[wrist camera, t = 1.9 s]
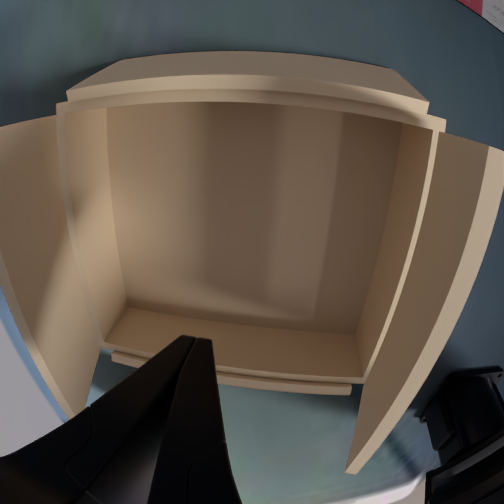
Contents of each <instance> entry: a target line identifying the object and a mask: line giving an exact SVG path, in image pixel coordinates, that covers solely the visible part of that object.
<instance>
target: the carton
mask: <svg viewBox="0 0 504 504" xmlns="http://www.w3.org/2000/svg"><path fill="white" fill-rule="evenodd" d="M66 94H67V98H68V101H66V102H61V103H56V117H57V139H58V153H59V165H60V174H61V183H62V191H63V198H64V205H65V211H66V218H67V223H68V229H69V234H70V239H71V244H72V249H73V254H74V259H75V263H76V267H77V271H78V276H79V280H80V284H81V287H82V291H83V295H84V298H85V302H86V306H87V309H88V312H89V316H90V319H91V322H92V325H93V329H94V332H95V335H96V338H97V341H98V344H99V347H103V348H106V349H110V350H114V352H112V353H111V357H112V361H113V362H117V363H120V364H124V365H128V366H132V367H136V368H139V367H140V366H142V365H143V364H144V363H146V362H147V361H148V360H149V359H151V358H152V357H153V356H155V355H156V354H157V353H158V352H160V351H161V350H162V349H164V348H165V347H166V346H167V345H169V344H170V343H171V342H172V341H174V340H175V339H176V338H178V337H179V336H180V335H190V336H195V337H196V338H198V337H202V338H209V339H211V340H212V342H213V351H214V359H215V367H216V375H217V383H218V384H223V385H230V386H237V387H245V388H253V389H262V390H271V391H282V392H294V393H308V394H326V395H350V393H351V390H352V386H351V383H355V384H365V382H366V379H367V377H368V375H369V373H370V371H371V368H372V366H373V364H374V362H375V359H376V357H377V355H378V352H379V350H380V347H381V345H382V343H383V340H384V338H385V335H386V333H387V330H388V327H389V325H390V322H391V319H392V317H393V314H394V311H395V309H396V306H397V303H398V300H399V297H400V294H401V291H402V288H403V285H404V282H405V279H406V276H407V273H408V270H409V266H410V263H411V260H412V256H413V253H414V249H415V246H416V242H417V238H418V235H419V231H420V227H421V223H422V219H423V215H424V211H425V206H426V202H427V197H428V193H429V188H430V183H431V178H432V172H433V167H434V161H435V155H436V149H437V142H438V135H439V132H443V133H445V127H446V120H445V119H442V118H438V117H435V116H431V115H428V114H427V110H428V106H429V101H428V100H426V99H425V98H424V97H423V96H422V95H421V94H420V93H419V92H418V91H417V90H416V89H415V88H414V87H413V86H412V85H411V84H409V83H408V82H407V81H406V80H405V79H404V78H403V77H402V76H400V75H399V74H398V73H397V72H396V71H395V70H393V69H389V68H384V67H380V66H375V65H370V64H365V63H360V62H354V61H348V60H342V59H336V58H329V57H321V56H313V55H304V54H293V53H279V52H260V51H206V52H187V53H174V54H163V55H154V56H146V57H138V58H131V59H125V60H120V61H118V62H116V63H114V64H112V65H110V66H108V67H106V68H104V69H103V70H101V71H99V72H97V73H95V74H94V75H92V76H90V77H88V78H87V79H85V80H83V81H81V82H80V83H78V84H76V85H75V86H73V87H72V88H70V89H68V90H67V91H66Z"/></svg>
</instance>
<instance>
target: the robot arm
mask: <svg viewBox="0 0 504 504" xmlns="http://www.w3.org/2000/svg"><path fill="white" fill-rule="evenodd" d="M503 375H504V371H503V369H502V368H499V369H491V370H482V371H471V372H459V373H452V374H450V375H449V376H448V377H447V379H446V380H445V382H444V383H443V385H442V386H441V388H440V389H439V391H438V392H437V394H436V395H435V397H434V398H433V400H432V401H431V402H430V404H429V405H428V407H427V408H426V409H425V411H424V412H423V413H422V415H421V416H420V418H419V419H420V423H427V426H428V430H429V434H430V438H431V442H432V446H433V449H434V451H438V454H439V459H440V463H441V467H439V468H437V469H435V470H431V471H429V472H427V473H426V482H425V504H504V401H503V399H502V397H501V395H500V393H499V390H498V388H497V386H496V385H497V383H498V382H499V381H500V379H501V378H502V376H503ZM0 504H242V501H241V499H240V496H239V493H238V490H237V487H236V484H235V481H234V478H233V474H232V470H231V465H230V461H229V456H228V450H227V444H226V438H225V432H224V425H223V418H222V412H221V405H220V397H219V390H218V383H217V375H216V367H215V359H214V351H213V342H212V340H211V339H209V338H202V337H198V338H196V337H195V336H190V335H180V336H179V337H178V338H176V339H175V340H174V341H172V342H171V343H170V344H169V345H167V346H166V347H165V348H164V349H162V350H161V351H160V352H158V353H157V354H156V355H155V356H153V357H152V358H151V359H149V360H148V361H147V362H146V363H144V364H143V365H142V366H140V367H139V368H138V369H136V370H135V371H134V372H133V373H131V374H130V375H129V376H127V377H126V378H125V379H123V380H122V381H121V382H120V383H118V384H117V385H116V386H114V387H113V388H112V389H110V390H109V391H108V392H106V393H105V394H104V395H103V396H101V397H100V398H99V399H97V400H96V401H95V402H93V403H92V404H91V405H90V407H89V406H88V407H86V408H85V409H84V410H82V411H81V412H80V413H78V414H77V415H76V416H74V417H73V418H71V419H70V420H68V421H67V422H66V423H64V424H63V425H61V426H59V427H58V428H56V429H55V430H53V431H51V432H50V433H48V434H46V435H44V436H43V437H41V438H39V439H37V440H35V441H34V442H32V443H30V444H28V445H26V446H24V447H23V448H21V449H19V450H17V451H15V452H13V453H11V454H9V455H6V456H3V457H0Z"/></svg>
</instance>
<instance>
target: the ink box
mask: <svg viewBox="0 0 504 504" xmlns="http://www.w3.org/2000/svg"><path fill="white" fill-rule="evenodd" d="M458 1H459V2H461V3H463V4H464V5H466V6H467V7H469V8H470V9H472V10H473V11H475V12H476V13H478V14H479V15H480V16H482V17H483V18H485V19H486V20H487V21H489V22H490V23H491V24H493V25H494V26H495V27H497V28H498V29H499V30H500V31H502V32H503V33H504V0H458Z"/></svg>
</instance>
